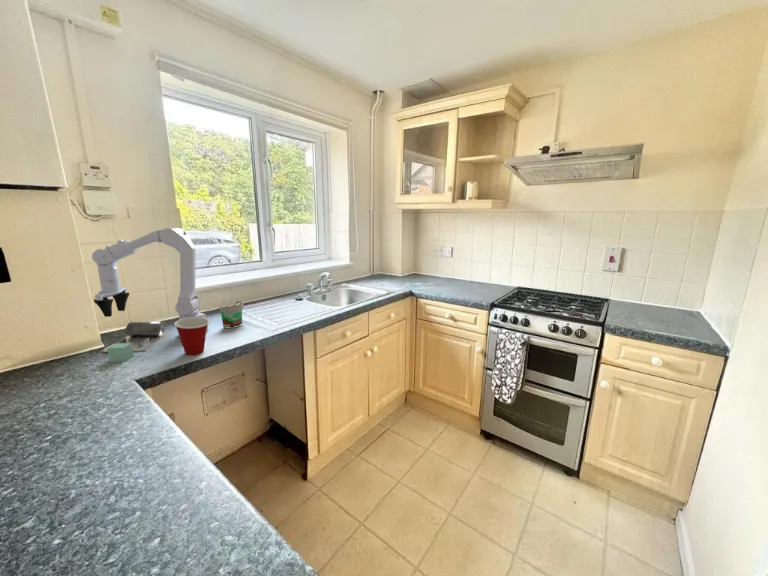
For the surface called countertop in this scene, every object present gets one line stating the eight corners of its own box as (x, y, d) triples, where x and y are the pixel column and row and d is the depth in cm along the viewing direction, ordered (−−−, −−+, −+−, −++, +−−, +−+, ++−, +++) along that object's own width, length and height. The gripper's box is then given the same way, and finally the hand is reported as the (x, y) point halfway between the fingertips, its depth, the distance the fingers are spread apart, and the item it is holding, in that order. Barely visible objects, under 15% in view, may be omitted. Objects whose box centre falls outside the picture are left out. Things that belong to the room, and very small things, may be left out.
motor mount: (169, 334, 132) (167, 319, 130) (145, 351, 116) (143, 333, 114) (132, 335, 130) (130, 320, 128) (103, 352, 114) (100, 334, 112)
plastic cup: (200, 359, 110) (197, 326, 108) (170, 358, 111) (166, 325, 108) (218, 347, 121) (215, 317, 118) (190, 346, 121) (187, 316, 119)
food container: (233, 330, 139) (231, 308, 137) (221, 329, 140) (219, 307, 138) (250, 321, 151) (249, 301, 149) (238, 320, 152) (237, 300, 150)
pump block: (133, 356, 111) (131, 343, 110) (126, 361, 107) (123, 347, 106) (117, 357, 110) (115, 343, 109) (109, 362, 107) (107, 348, 105)
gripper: (111, 276, 129) (116, 308, 132) (83, 283, 115) (89, 319, 118) (130, 276, 130) (135, 308, 133) (104, 283, 116) (110, 318, 119)
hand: (115, 313), depth 126 cm, fingers open, 7 cm apart
